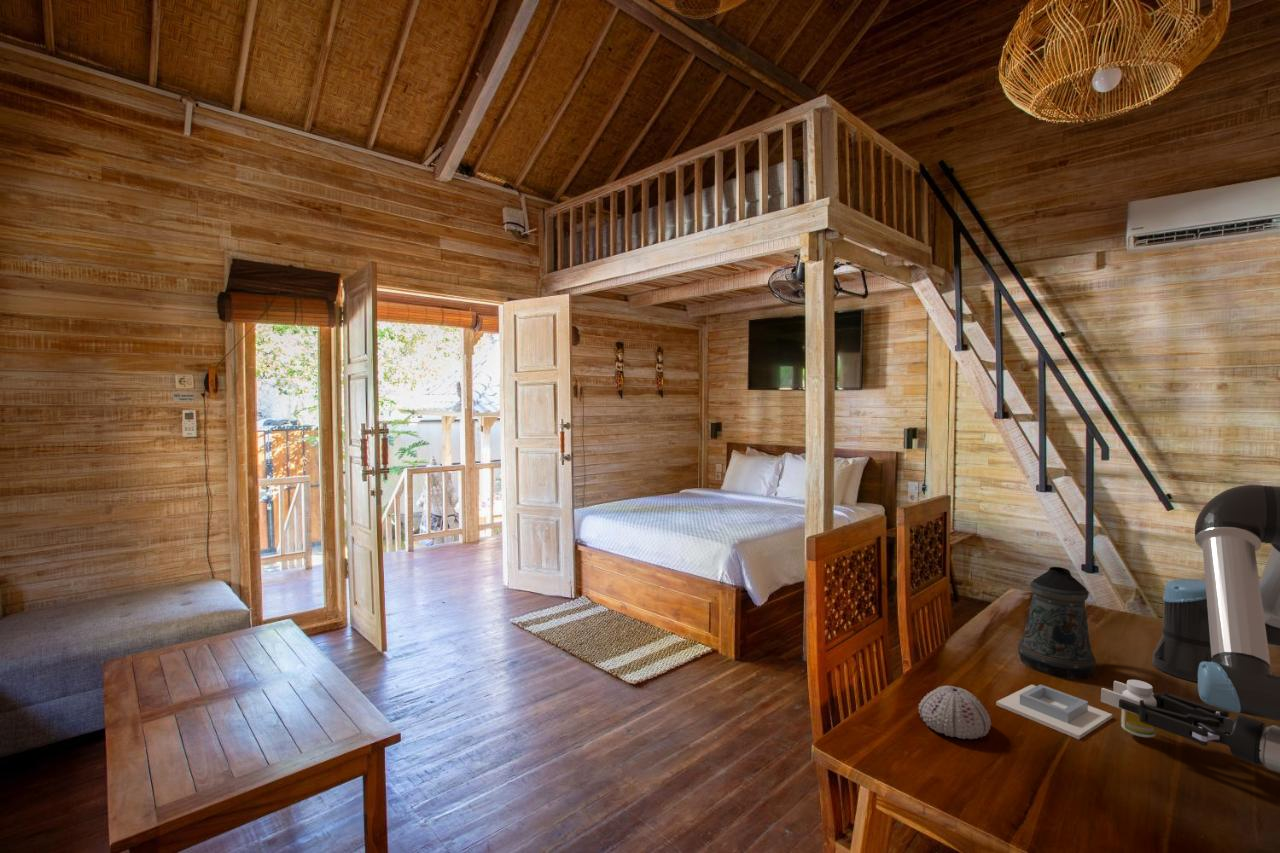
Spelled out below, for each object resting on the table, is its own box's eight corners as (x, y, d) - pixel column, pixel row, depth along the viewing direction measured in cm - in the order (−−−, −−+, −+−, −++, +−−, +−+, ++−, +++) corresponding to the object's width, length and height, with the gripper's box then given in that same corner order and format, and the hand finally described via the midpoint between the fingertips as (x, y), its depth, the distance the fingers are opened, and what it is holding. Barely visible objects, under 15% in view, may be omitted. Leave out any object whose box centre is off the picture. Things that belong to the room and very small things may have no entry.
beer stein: (1036, 677, 148) (1039, 577, 147) (1001, 646, 167) (1004, 557, 166) (1110, 682, 145) (1114, 581, 144) (1066, 650, 164) (1070, 560, 163)
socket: (1031, 687, 142) (1031, 675, 142) (1112, 717, 128) (1112, 704, 128) (996, 705, 133) (996, 691, 133) (1078, 739, 120) (1079, 724, 120)
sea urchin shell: (997, 751, 116) (998, 710, 115) (920, 737, 120) (921, 697, 120) (984, 717, 128) (985, 681, 128) (914, 706, 133) (916, 670, 132)
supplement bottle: (1162, 739, 117) (1164, 691, 117) (1130, 736, 118) (1132, 688, 118) (1144, 725, 123) (1146, 679, 122) (1115, 722, 124) (1116, 676, 123)
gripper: (1249, 783, 100) (1087, 720, 120) (1278, 749, 110) (1125, 696, 130) (1251, 740, 100) (1089, 684, 120) (1280, 710, 110) (1126, 663, 129)
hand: (1108, 690), depth 125 cm, fingers closed on supplement bottle, 5 cm apart
